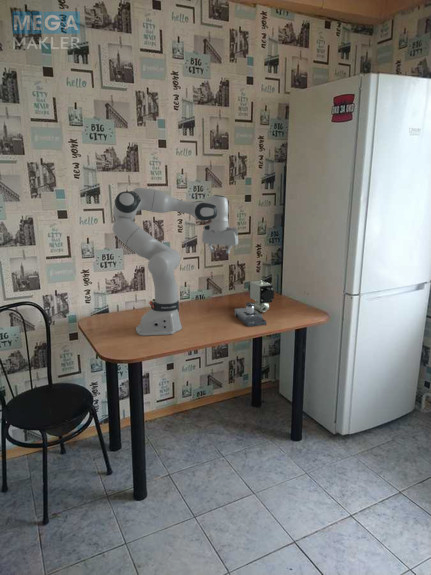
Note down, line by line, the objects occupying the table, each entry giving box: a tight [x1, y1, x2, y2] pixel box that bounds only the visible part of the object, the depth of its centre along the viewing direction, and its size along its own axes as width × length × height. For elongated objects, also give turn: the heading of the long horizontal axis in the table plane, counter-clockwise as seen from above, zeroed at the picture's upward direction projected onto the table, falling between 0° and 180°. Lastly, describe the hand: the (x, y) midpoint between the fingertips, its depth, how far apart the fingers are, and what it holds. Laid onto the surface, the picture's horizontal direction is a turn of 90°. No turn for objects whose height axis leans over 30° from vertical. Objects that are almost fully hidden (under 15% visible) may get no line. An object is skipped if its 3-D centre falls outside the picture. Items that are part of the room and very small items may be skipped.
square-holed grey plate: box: [234, 307, 267, 328], centre depth 219 cm, size 10×20×4 cm, turn 17°
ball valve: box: [247, 279, 275, 313], centre depth 232 cm, size 18×8×18 cm, turn 22°
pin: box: [245, 301, 255, 315], centre depth 218 cm, size 5×5×9 cm
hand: (220, 252), depth 221 cm, fingers open, 8 cm apart
